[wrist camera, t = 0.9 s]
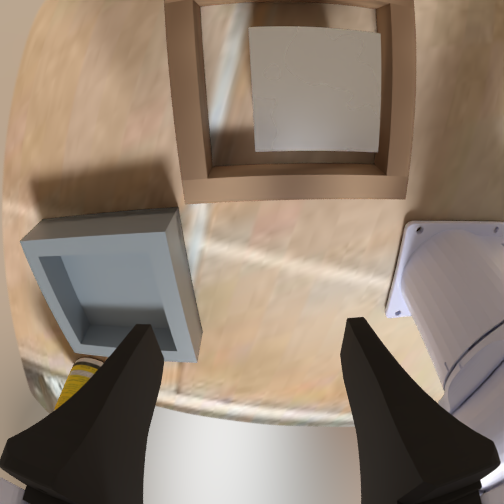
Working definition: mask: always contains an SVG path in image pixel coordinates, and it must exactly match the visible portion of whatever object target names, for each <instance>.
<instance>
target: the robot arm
mask: <svg viewBox="0 0 504 504" xmlns="http://www.w3.org/2000/svg"><path fill="white" fill-rule="evenodd" d="M419 227H421V229H420V230H419V231H416V230H417V228H419ZM396 311H397V312H396ZM385 315H386V317H388V318H395V317H405V316H412V318H413V320H414V322H415V324H416V326H417V328H418V331H419V333H420V335H421V337H422V339H423V342H424V344H425V346H426V348H427V351H428V353H429V355H430V358H431V360H432V362H433V365H434V367H435V369H436V372H437V374H438V377H439V379H440V382H441V384H442V387H443V389H444V391H445V392H444V395H443V397H442V398H441V399H440V400H439V402H438V403H439V404H438V403H437V402H436V401H434V400H433V399H432V398H431V397H430V396H429V395H428V394H427V393H426V392H425V391H424V390H423V389H422V388H421V387H420V386H419V385H418V384H417V383H416V382H415V381H414V380H413V379H412V378H411V377H410V376H409V375H408V373H407V372H406V371H405V370H404V369H403V368H402V367H401V365H400V364H399V363H398V362H397V361H396V359H395V358H394V357H393V356H392V354H391V353H390V352H389V351H388V349H387V348H386V347H385V345H384V344H383V343H382V341H381V340H380V339H379V337H378V336H377V335H376V333H375V332H374V331H373V329H372V328H371V326H370V325H369V324H368V322H367V321H366V319H365V318H364V317H358V318H347V322H346V327H345V333H344V338H343V343H342V348H341V353H340V357H341V365H342V372H343V379H344V383H345V387H346V391H347V395H348V399H349V403H350V407H351V411H352V415H353V420H354V424H355V428H356V433H357V440H358V449H359V459H360V474H361V497H362V498H361V504H504V222H490V221H410V222H408V223H407V224H406V225H405V228H404V233H403V238H402V243H401V248H400V253H399V257H398V261H397V266H396V270H395V274H394V278H393V282H392V286H391V290H390V294H389V298H388V302H387V305H386V309H385ZM163 366H164V357H163V354H162V352H161V349H160V347H159V344H158V342H157V339H156V336H155V334H154V331H153V329H152V326H151V324H136V325H135V326H134V327H133V329H132V330H131V331H130V332H129V333H128V334H127V336H126V337H125V338H124V339H123V341H122V342H121V343H120V344H119V345H118V347H117V348H116V349H115V350H114V352H113V353H112V354H111V355H110V356H109V357H108V359H107V360H106V361H105V362H104V363H103V365H102V366H101V367H100V368H99V369H98V370H97V371H96V372H95V373H94V375H93V376H92V377H91V378H90V379H89V380H88V381H87V382H86V383H85V384H84V385H83V386H82V387H81V388H80V389H79V390H78V391H77V392H76V393H75V394H74V395H73V396H72V397H71V398H69V399H68V400H67V401H66V402H65V403H63V404H62V405H61V406H60V407H58V408H57V409H56V410H55V411H53V412H52V413H51V414H49V415H48V416H47V417H45V418H44V419H42V420H41V421H39V422H38V423H36V424H35V425H33V426H31V427H30V428H28V429H27V430H24V431H23V432H21V433H19V434H17V435H15V436H14V437H11V438H9V439H8V440H7V443H6V445H5V448H4V450H3V453H2V456H1V459H0V467H1V468H2V469H3V470H4V471H6V472H7V473H9V474H10V475H11V476H13V477H15V478H16V479H18V480H19V481H21V482H22V483H24V484H26V485H27V486H26V489H25V490H24V489H22V488H20V487H18V486H17V485H15V484H13V483H11V482H9V481H7V480H5V479H3V478H0V504H143V477H144V463H145V451H146V444H147V436H148V432H149V427H150V423H151V420H152V416H153V412H154V408H155V404H156V400H157V397H158V393H159V389H160V385H161V380H162V373H163Z"/></svg>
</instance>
